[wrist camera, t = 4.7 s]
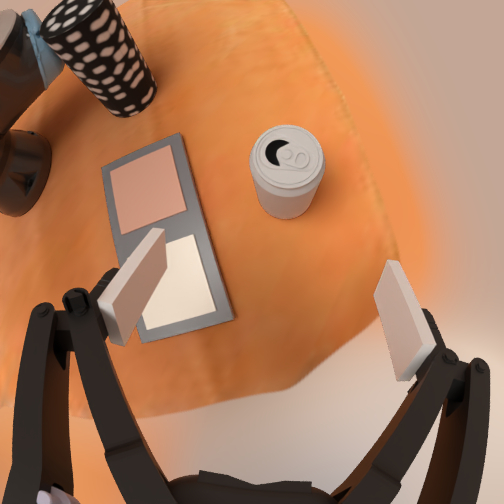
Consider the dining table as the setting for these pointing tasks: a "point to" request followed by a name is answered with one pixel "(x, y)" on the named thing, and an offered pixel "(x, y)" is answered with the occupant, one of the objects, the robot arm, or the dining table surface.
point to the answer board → (167, 237)
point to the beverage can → (286, 170)
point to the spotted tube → (100, 53)
